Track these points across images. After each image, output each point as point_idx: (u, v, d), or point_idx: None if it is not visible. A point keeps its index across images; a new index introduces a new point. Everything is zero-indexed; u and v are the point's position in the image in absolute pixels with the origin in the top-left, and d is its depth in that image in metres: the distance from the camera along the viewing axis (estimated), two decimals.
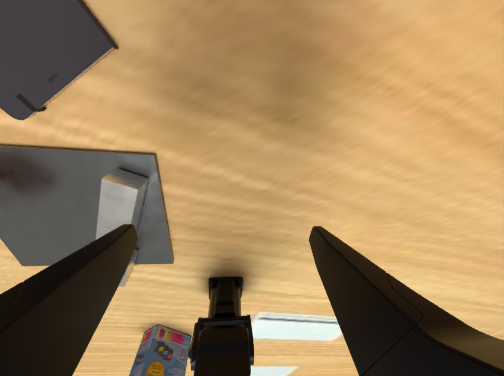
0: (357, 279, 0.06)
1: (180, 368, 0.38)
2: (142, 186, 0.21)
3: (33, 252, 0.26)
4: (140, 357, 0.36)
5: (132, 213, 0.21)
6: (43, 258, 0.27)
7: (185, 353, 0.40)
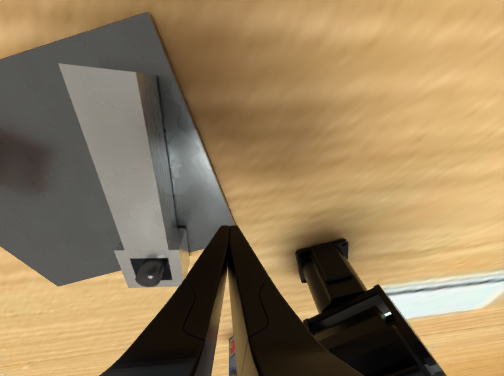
0: (235, 283, 0.06)
1: None
2: (146, 80, 0.10)
3: (59, 265, 0.19)
4: (235, 373, 0.27)
5: (147, 141, 0.11)
6: (75, 270, 0.20)
7: None
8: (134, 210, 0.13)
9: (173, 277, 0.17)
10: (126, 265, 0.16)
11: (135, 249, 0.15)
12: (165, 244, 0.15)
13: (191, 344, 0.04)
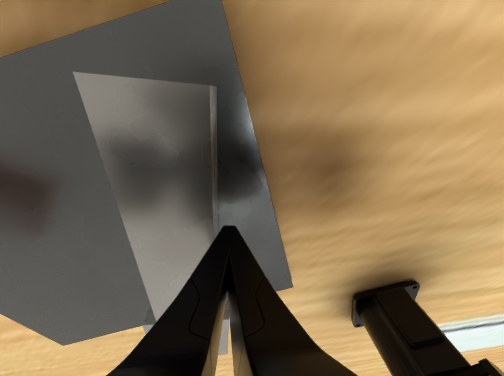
0: (232, 283, 0.06)
1: None
2: (213, 95, 0.06)
3: (66, 324, 0.15)
4: None
5: (210, 191, 0.07)
6: (85, 328, 0.16)
7: None
8: (177, 279, 0.09)
9: None
10: None
11: None
12: None
13: (197, 343, 0.04)
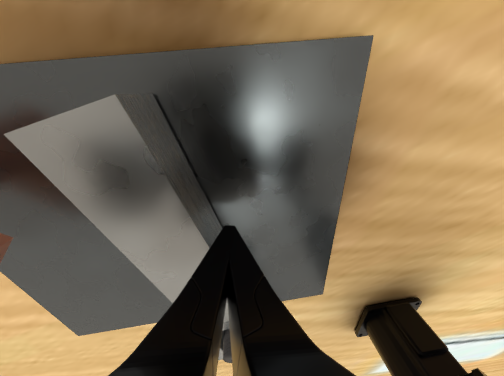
0: (231, 283, 0.06)
1: None
2: (140, 103, 0.06)
3: (93, 312, 0.14)
4: None
5: (176, 196, 0.07)
6: (111, 319, 0.15)
7: None
8: None
9: None
10: None
11: None
12: None
13: (198, 343, 0.04)
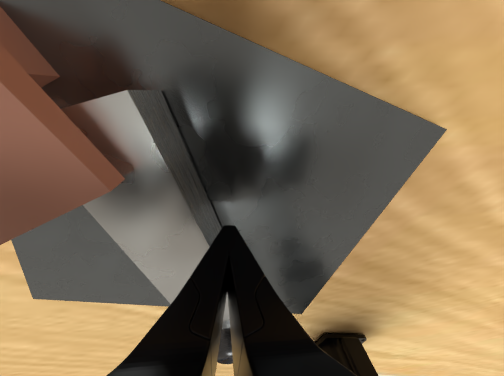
0: (232, 283, 0.06)
1: None
2: (150, 99, 0.06)
3: (73, 276, 0.12)
4: None
5: (180, 194, 0.07)
6: (88, 289, 0.13)
7: None
8: None
9: None
10: None
11: None
12: None
13: (197, 343, 0.04)
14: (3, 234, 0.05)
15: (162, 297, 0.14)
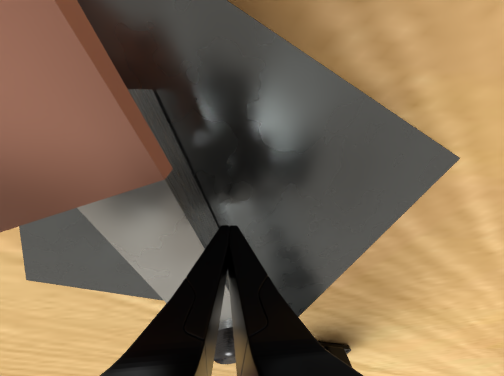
0: (235, 283, 0.06)
1: None
2: (139, 99, 0.06)
3: (75, 260, 0.12)
4: None
5: (171, 193, 0.07)
6: (87, 275, 0.12)
7: None
8: None
9: None
10: None
11: None
12: None
13: (192, 344, 0.04)
14: (42, 210, 0.05)
15: None
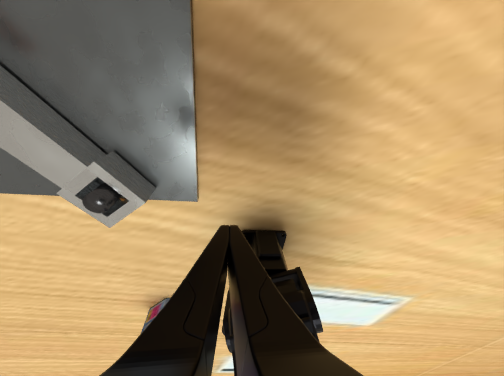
0: (235, 283, 0.06)
1: None
2: None
3: None
4: None
5: None
6: (6, 180, 0.18)
7: None
8: (17, 138, 0.13)
9: (126, 197, 0.17)
10: (81, 204, 0.17)
11: (66, 182, 0.15)
12: (78, 162, 0.15)
13: (191, 344, 0.04)
14: None
15: None
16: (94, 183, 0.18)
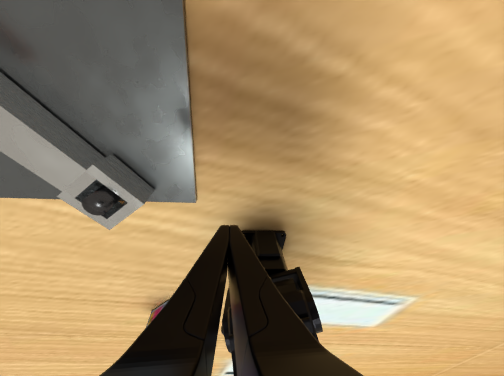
0: (235, 283, 0.06)
1: None
2: None
3: None
4: None
5: None
6: (9, 184, 0.18)
7: None
8: (18, 143, 0.14)
9: (125, 199, 0.17)
10: (81, 206, 0.17)
11: (66, 185, 0.16)
12: (77, 165, 0.15)
13: (191, 344, 0.04)
14: None
15: None
16: (94, 186, 0.19)
